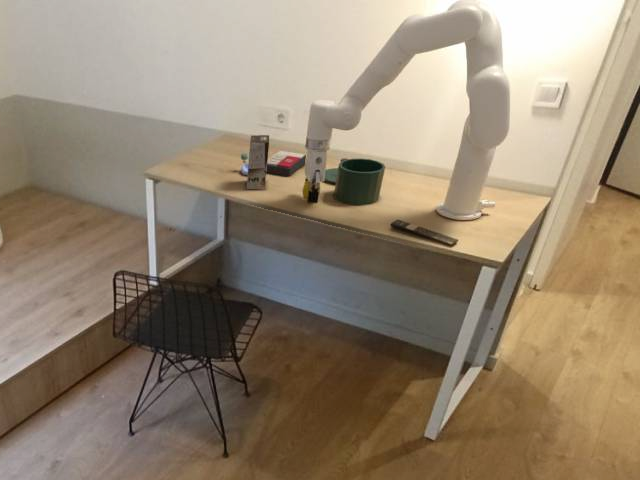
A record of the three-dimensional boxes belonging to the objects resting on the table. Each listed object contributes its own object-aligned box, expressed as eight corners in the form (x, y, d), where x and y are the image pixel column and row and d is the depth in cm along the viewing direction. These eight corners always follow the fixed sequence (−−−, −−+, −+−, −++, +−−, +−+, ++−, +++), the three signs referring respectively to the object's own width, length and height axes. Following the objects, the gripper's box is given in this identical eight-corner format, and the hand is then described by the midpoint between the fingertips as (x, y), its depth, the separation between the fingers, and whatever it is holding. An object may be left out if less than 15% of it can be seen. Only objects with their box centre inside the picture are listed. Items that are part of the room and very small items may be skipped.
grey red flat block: (262, 162, 228) (279, 148, 237) (261, 173, 230) (278, 160, 239) (290, 166, 222) (306, 153, 231) (288, 178, 225) (305, 164, 234)
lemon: (321, 201, 205) (325, 177, 200) (312, 206, 202) (316, 182, 197) (306, 197, 208) (309, 174, 203) (297, 202, 205) (301, 179, 200)
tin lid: (358, 170, 227) (361, 152, 222) (368, 185, 215) (372, 166, 210) (316, 171, 228) (319, 153, 224) (324, 186, 216) (327, 167, 212)
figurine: (238, 170, 233) (239, 152, 229) (255, 168, 233) (257, 150, 229) (243, 177, 227) (244, 158, 222) (261, 175, 227) (263, 157, 223)
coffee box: (264, 190, 215) (269, 142, 206) (246, 189, 217) (249, 142, 207) (265, 180, 222) (269, 134, 213) (247, 180, 224) (251, 134, 214)
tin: (372, 188, 212) (378, 157, 205) (383, 204, 201) (390, 172, 194) (330, 189, 213) (335, 159, 207) (338, 205, 202) (344, 173, 195)
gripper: (335, 151, 186) (326, 208, 197) (324, 135, 200) (317, 188, 211) (310, 152, 187) (302, 208, 197) (301, 135, 200) (294, 189, 211)
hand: (310, 197), depth 204 cm, fingers open, 7 cm apart
